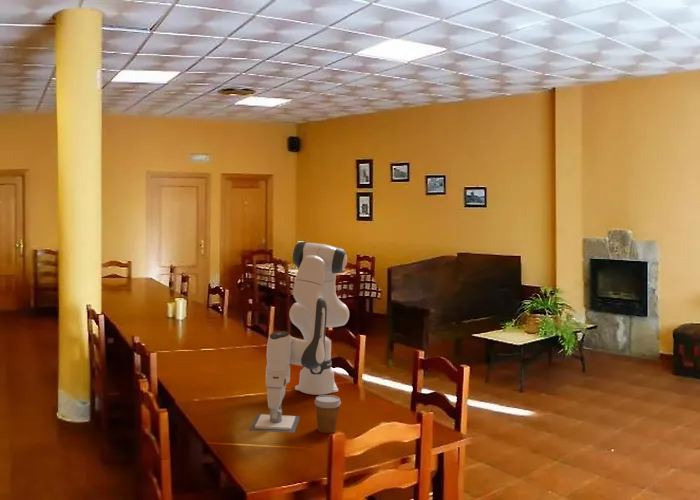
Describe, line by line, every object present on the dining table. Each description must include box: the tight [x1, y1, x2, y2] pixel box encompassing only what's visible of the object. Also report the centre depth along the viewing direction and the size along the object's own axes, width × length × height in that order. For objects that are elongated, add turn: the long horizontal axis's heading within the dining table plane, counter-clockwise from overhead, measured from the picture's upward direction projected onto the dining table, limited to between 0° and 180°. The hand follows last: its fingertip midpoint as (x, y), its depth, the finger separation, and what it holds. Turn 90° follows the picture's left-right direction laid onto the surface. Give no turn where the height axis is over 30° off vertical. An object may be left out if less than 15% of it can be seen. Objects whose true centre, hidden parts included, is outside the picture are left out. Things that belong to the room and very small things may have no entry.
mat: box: [249, 413, 301, 434], centre depth 244 cm, size 18×16×1 cm
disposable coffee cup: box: [314, 394, 342, 434], centre depth 239 cm, size 10×10×12 cm
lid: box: [255, 408, 296, 430], centre depth 244 cm, size 13×13×5 cm
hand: (276, 413), depth 244 cm, fingers open, 8 cm apart
